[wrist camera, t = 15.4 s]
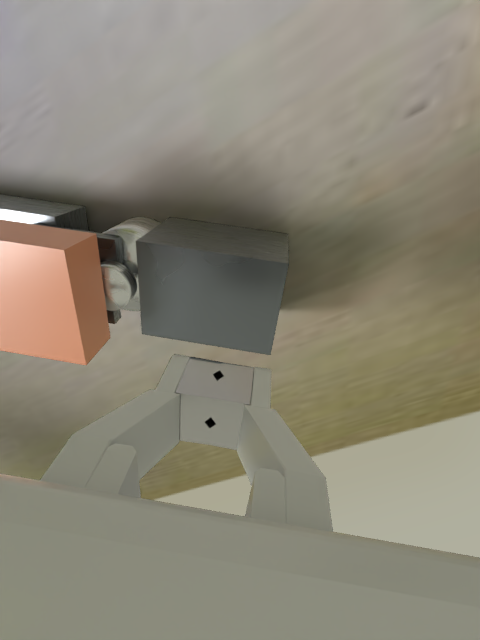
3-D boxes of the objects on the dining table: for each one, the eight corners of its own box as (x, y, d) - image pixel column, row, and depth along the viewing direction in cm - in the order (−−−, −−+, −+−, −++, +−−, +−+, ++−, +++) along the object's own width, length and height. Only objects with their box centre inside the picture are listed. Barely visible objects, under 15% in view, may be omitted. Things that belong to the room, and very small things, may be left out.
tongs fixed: (288, 231, 15) (289, 259, 12) (273, 310, 18) (270, 355, 14) (-173, 165, 16) (-300, 172, 13) (-130, 247, 19) (-227, 273, 15)
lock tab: (96, 233, 12) (63, 250, 10) (110, 337, 14) (86, 365, 12) (-29, 215, 12) (-82, 228, 10) (6, 320, 14) (-31, 345, 13)
